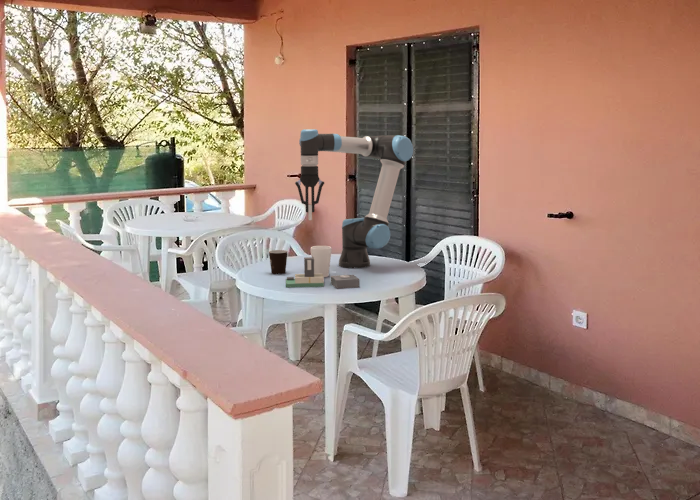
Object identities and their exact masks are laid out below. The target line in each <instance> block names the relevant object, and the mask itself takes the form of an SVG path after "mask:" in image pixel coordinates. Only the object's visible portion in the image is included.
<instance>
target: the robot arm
mask: <svg viewBox="0 0 700 500" xmlns="http://www.w3.org/2000/svg"><path fill="white" fill-rule="evenodd" d="M299 137H300V138H299V146H300V165H301V166H300V177H299V180H297V181H295V182H294V184H295V185H296V187H297V190H298V194H299V198H300V202H301V204H302V205H305V213H308V214H307V215H308V218H307V219H308V221H313V213H315V205H317V204H319V202H320V199H321V198H320V197H321V195H322V194H321V193H322V190H323V186H324V185H325V181H323V180H321V178H320V177H319V166H318V165H319V152H330V153H342V154H343V153H344V154H355V155H359V154H360V155H362V156H363V157H366V158H367V157H368V158H373V159H377V160H380V163H381V168H380V172H379V175H378V180H377V183H376V187H375V191H374V193H373V198H372V201H371V206H370V208H369V212H368V214H366V215H365V216H364V217H356V218H348V219H347V218H345V219H343V221H342V225H341V234H342V235H341V238H342V241H341V242H342V244H341V246H342V250H341V253H340V257H339V260H338V266H339V267H341V268H344V269H364V268H368V267H371V260H370V256H369V253H368V250H367V248H370V249H372V250H373V249H377V250H378V249H382V248H383V247H385V246H386V245H388V243H389V242H390V238H391V229H390V227H389V221H388V215H389V211H390V207H391V205H392V204H391V203H392V200H393V198H394V193H395V190H396V185H397V182H398V178H399V175H400V171H401V169H402V170H403V168H405V165H406V162H407V161H410V160H411V158H412V157H413V154H414V146H413V144H412V141H411V139H410V138H408V137H407V136H405V135H399V134H397V135H393V134H392V135H390V134H389V135H387V134H384V135H376V136H374V135H373V136H369V135H368V136H367V135H365V136H363V137H357V136H344V135H343V136H342V135H339V134H338V133H319V131H318V129H313V128H312V129H307V128H306V129H302V130H301V131H300V136H299ZM301 183H302V185H303V186H304V187H305V198H304V196H303V192H302V189H301V188H302V187H301ZM317 184H318V185H319V186H318V190H317V194H316V199H315V187H316V186H317ZM309 188H310V190H311V192H310V193H311V194H310V196H311V197H310V198H311V202H310V203H311V204H309ZM304 199H305V200H304Z"/></svg>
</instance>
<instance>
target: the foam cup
mask: <svg viewBox="0 0 700 500" xmlns="http://www.w3.org/2000/svg"><path fill="white" fill-rule="evenodd" d="M332 252H333V249H332V246H330V245H329V246H328V245H314V246H311V247H310V254H311V257H314V274H323V277H324V278H326V277H329V275H330V267H331V257H332Z"/></svg>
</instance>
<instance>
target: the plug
mask: <svg viewBox="0 0 700 500" xmlns="http://www.w3.org/2000/svg"><path fill="white" fill-rule="evenodd" d="M303 264H304V273H303V274H304V276H305V277H314V257H312V256H311V257H307V256H306V257H304V259H303Z"/></svg>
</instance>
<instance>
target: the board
mask: <svg viewBox="0 0 700 500" xmlns="http://www.w3.org/2000/svg"><path fill="white" fill-rule="evenodd" d="M322 287H323V288H324V287H325V282H324V283H295V277H294V276H287V277H286V278H285V288H322Z"/></svg>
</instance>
